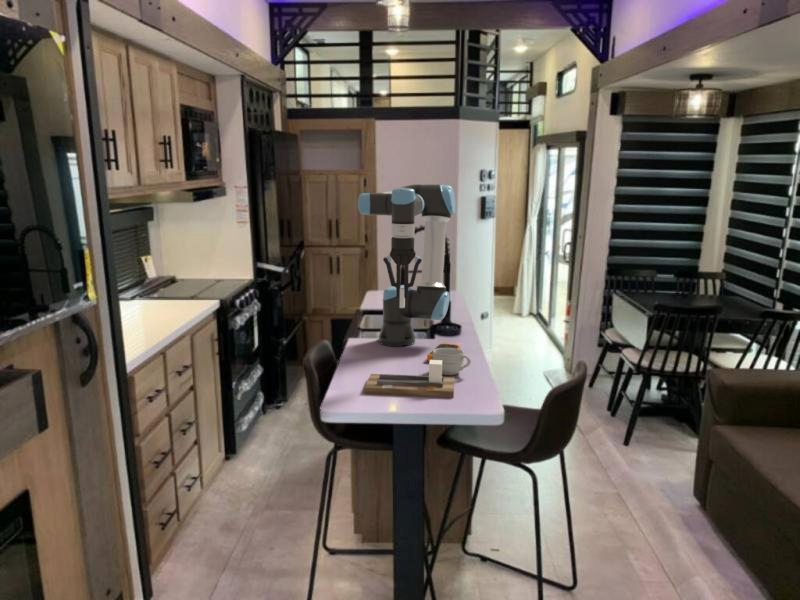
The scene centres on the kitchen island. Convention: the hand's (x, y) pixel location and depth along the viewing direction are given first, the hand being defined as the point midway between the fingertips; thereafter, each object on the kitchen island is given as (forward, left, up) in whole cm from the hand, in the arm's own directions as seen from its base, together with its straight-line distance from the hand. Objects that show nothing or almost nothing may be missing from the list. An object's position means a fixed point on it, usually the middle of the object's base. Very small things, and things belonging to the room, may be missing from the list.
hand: (402, 307), depth 196 cm
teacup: (-5, +17, -25) cm, 30 cm away
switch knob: (+11, +12, -22) cm, 27 cm away
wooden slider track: (+11, +4, -24) cm, 27 cm away
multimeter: (-24, +14, -25) cm, 37 cm away
